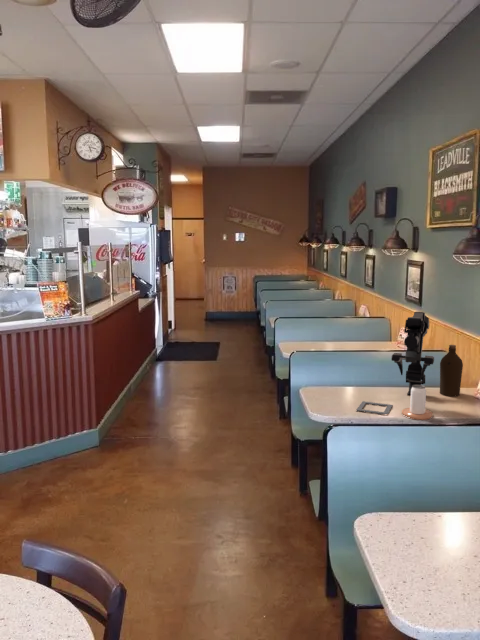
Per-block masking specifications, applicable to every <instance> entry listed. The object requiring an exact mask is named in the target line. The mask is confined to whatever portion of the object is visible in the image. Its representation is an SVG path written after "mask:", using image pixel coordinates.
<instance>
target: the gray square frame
mask: <svg viewBox="0 0 480 640" xmlns="http://www.w3.org/2000/svg"><path fill="white" fill-rule="evenodd" d="M365 404H366V405H369V404H372V405H371V406H377V405H379V407H385V406H387V407H386V408H385V409H384V411H378V410H372V409H371V410H370V409H364V408H365V406H366V405H365ZM363 407H364V408H363ZM362 408H363V409H362ZM392 408H393V404H388V403H387V404H386V403H381V402H372V401H365V400H362V402H360V404H359V405H358V407H357V408H355V409H356V410H357V411H356V410H355V411H356V412H358V411H365V412H364V413H366V412H371V413H370V414H373V413H377V414H376V415H381V414H389V413H390V412H391V410H390V409H392ZM389 411H390V412H389Z"/></svg>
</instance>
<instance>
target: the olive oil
mask: <svg viewBox="0 0 480 640" xmlns="http://www.w3.org/2000/svg"><path fill="white" fill-rule="evenodd" d="M463 366H464V363H463V360H462V358H461V357H460V356H459V355H458V354H457V345H456V344H449V345H448V351H447V353H446V354H445V355H444V356H443V357H442V358H441V360H440V361H439V394H440V395H442V396H446V397H459V396H460V394H461V385H462V376H463V375H462V374H463V369H464V367H463Z"/></svg>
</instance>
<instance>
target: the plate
mask: <svg viewBox="0 0 480 640" xmlns="http://www.w3.org/2000/svg"><path fill="white" fill-rule="evenodd" d="M402 414H403V415H405V416H407V417H410V418H412V419H411V420H416V421H417V420H418V421H425V420H430V418H431V417H432V418H433V415H434V414H433V412H432V411H431V410H428V409H426V408H425V413H424V414H422V415H417V414H413V413H411V412H410V407H406V408H403V409H402V410H401V415H402ZM403 415H402V416H403ZM405 416H404V417H405ZM407 417H406V418H407ZM410 418H409V419H410ZM432 418H431V419H432Z"/></svg>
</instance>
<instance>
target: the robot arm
mask: <svg viewBox="0 0 480 640" xmlns="http://www.w3.org/2000/svg"><path fill="white" fill-rule="evenodd" d="M429 329H430V318H429V317H428V316H427V315H426V313H425V312H424V311H415V312H413V316H407V318H406V319H405V324H404V330H403V332H404V334H407V335H406V337H405V338H404V340H403V341H404V343H403V344H404V346H405V347H406V351H405V355H402V354H403V353H400V352H394V353H393V354H392V355H391V361H393V362H394V363H396V364H397V366H398V368H399V372H400V376H403V374H404V373H403V372H404V371H403V369H404V367H403V360H404V361H405V362H406V363H410V364H408V366H407V370H406V371H405V383H407V384H408V392H407V393H406V395H407V396H411V388H412V386H413V385H424V384H425V385H426V375H425V372H426V369H427V368H428V366H429V367H430V366H431V365H434V363H435V356H433V355H425V356H423V357H422V354H423V345H424V337H425V336H426V335H427V334H428V330H429ZM422 362H423V365H422V364H421V363H422Z"/></svg>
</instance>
